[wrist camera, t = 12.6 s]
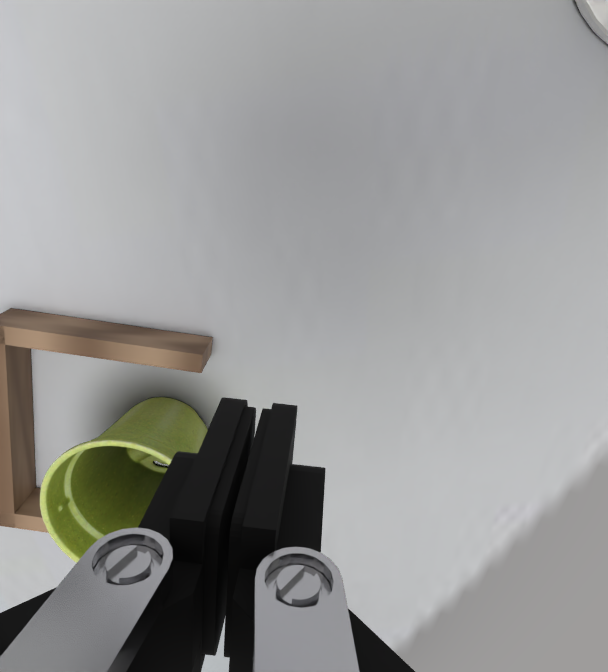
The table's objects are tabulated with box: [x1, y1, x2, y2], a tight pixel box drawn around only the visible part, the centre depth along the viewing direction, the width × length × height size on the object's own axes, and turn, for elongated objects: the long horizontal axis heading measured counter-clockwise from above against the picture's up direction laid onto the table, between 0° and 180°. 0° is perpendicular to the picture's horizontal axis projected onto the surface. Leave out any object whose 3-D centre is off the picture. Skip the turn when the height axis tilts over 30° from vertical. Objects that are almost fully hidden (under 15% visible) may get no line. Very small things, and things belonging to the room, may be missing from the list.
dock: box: [0, 308, 213, 533], centre depth 37 cm, size 13×15×3 cm
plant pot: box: [40, 397, 208, 563], centre depth 35 cm, size 9×9×9 cm
